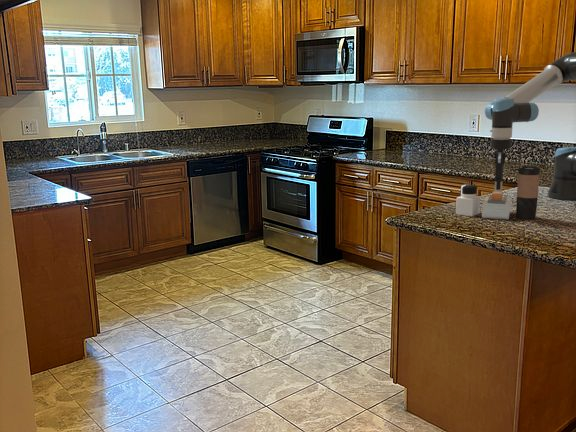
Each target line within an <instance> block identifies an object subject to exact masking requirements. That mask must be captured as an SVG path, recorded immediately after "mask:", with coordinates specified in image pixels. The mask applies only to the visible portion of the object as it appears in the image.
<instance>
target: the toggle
mask: <svg viewBox="0 0 576 432" xmlns="http://www.w3.org/2000/svg"><path fill="white" fill-rule="evenodd" d="M491 195H492V198H491V200H503V197H504V192H494V191H492V192H491Z"/></svg>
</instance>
